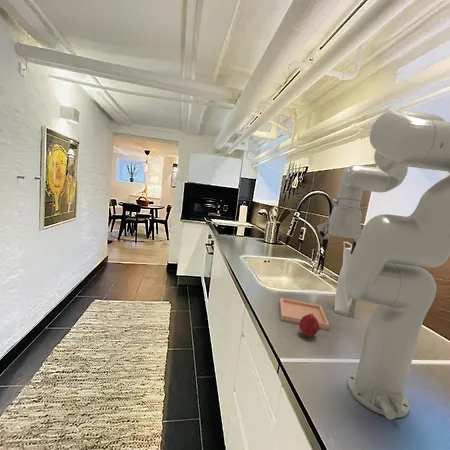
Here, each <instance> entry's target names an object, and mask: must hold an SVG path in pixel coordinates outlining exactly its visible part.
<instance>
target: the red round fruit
mask: <svg viewBox="0 0 450 450" xmlns="http://www.w3.org/2000/svg"><path fill="white" fill-rule="evenodd" d="M299 328H300V331H301V332H302V334H303V335H305V337H312V336H314V335H317V333H318V332H319V330H320V329H319V323H318V320H317V319H316V317H314V316H313V312H310V314H309V315H305V316H304V317H303V318H302V319H301V321H300V325H299Z"/></svg>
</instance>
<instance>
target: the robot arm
mask: <svg viewBox="0 0 450 450" xmlns="http://www.w3.org/2000/svg"><path fill="white" fill-rule="evenodd" d="M369 142H370V145H371V146H372V148H373V149H374V150H375V151H374V154H373V155H374V157H373V160H374V163H375V165H376V166H377V167H376V166H369V165H368V166H367V165H361V164H353V165H351V166H349V167H346V168H344V169H343V170H342V173H341V177H340V182H339V187H338V192H337V196H336V197H337V198H335V199H332V201H331V204H334V205H335V206H333V207H332V209H331V213H330V215H329V218H328V222H324V223H321V224H318V225H317V226H316V227H317V228H316V229H317V230H318V233H319V235H320V236H321V238H322V243H321V248H322V250H323V251H325V252H326V251H327V248H328V243H329V237H331V236H333V237H339V238H345V239H346V238H347V239H352V240H353V243H351V244H352V246H351V247H352V249H351V254H352V256H351V258H350V261H349V263H348V266H347V268H346V271H345V275H344V288H345V291H346V293H347V294H348V295H349V296H350V297H351V298H353V299H355V300H356V302H362V303H366V304H373V305H374V304H375V305H377V306H375V308H374V309H373V311H372V312H371V314H370V316H369V318H368V320H367V322H368V323H367V326H366V331H365V335H364V339H363V344H362V349H361V353H360V358H359V361H358V365H357V370H356V372H353V373H351V374H349V376H348V377H347V381H346V383H347V389H348V390H349V392H350V394H351V395H352V396H353V397H354V398H355V400H357V401H358V402H359V403H360V404H362V405H363V406H364V407H366V408H367V409H368V410H371V411H372V412H375V413H377V414H379V415H382V416H384V417H385V418H386V419H388V420H394V419H397V418H404V417H406V416H407V415H408V414H409V412H410V408H411V407H410V405H411V404H410V401H409V400H408V398H407V397H406V395H405V390H406V386H407V382H408V378H409V375H410V370H411V366H412V362H413V359H414V355H415V350H416V346H417V344H418V339H419V335H420V332H421V328H422V325H423V322H424V320H425V318H426V315H427V313H428V312H429V309H430V308H431V306H432V305H433V303H434V300H435V299H436V295H437V283H436V281H435V280H436V279H434V278H435V277H434V276H433V275H432V274H431V273H430V272H429V271H427V269H424V268H430V269H431V268H438V267H440V266H442V265H444V264H445V263H446V261H447V260H449V258H450V121H446V120H445V119H444V118H443V117H441V116H439V115H436V114H433V113H429V112H428V113H427V112H423V111H422V112H421V111H412V110H404V109H396V108H394V109H389V110H387V111H385V112H383V113H381V114H380V115H379V116H378V118H377V119H375V121H374V123H373V125H372V126H371V129H370V132H369ZM409 168H415V169H417V168H418V169H423V170H424V169H425V170H432V171H440V172H441V171H442V172H447V173H449V175H448V176H446V177H444V178H442V179H441V180H439V181H437V182H436V183H434V184H433V185H432V186H431V187H430V188H428V189H427V190H426V191H425V192H424V193H423V194H422V195H421V197H420V199H419V201H418V203H417V205H416V206H415V209H414V210H413V212H412V213H411V214H409V215H408V216H403V215H395V214H388V213H387V214H385V213H384V214H378V215H376V216H373V217H372V218H370V219H369V220H368V221H367V222H366V223H365V225H364V226H363V228H362V227H361V226H362V215H363V213H362V210H360V208H361V207H360V206H361V201H362V196H363V193H364V191H365V192H372V193H373V192H374V193H386V192H390V191H392V190H394V189H395V188H397V187H399V186H400V185H401V184H402V183H403V182H404V180H405V179H406V177H407V175H408V170H409ZM323 228H326V232H325V233H324V231H323ZM353 299H352V300H353Z"/></svg>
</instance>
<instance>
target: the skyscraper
mask: <svg viewBox="0 0 450 450" xmlns="http://www.w3.org/2000/svg"><path fill="white" fill-rule="evenodd" d="M345 244H347V245H349V246H350V247H345ZM352 244H353V243H350V242H348V241H343V252H342V253H343V254H342V266H341V268H340V271H339V275H338V278H337V282H336V288H335V297H334V298H335V301H334V305H333V309H334V313H335V314H338V315H341V316H346V317H349V318H352V319H353V318H355V309H356V303H357V300H355V299H353V298H351V297H350V296H349V295H348V294H347V293H346V291H345V288H344V275H345V271H346V268H347V266H348V263H349V261H350V258H351V256H352V254H351V249H352Z"/></svg>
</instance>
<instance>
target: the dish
mask: <svg viewBox="0 0 450 450" xmlns="http://www.w3.org/2000/svg"><path fill="white" fill-rule="evenodd" d="M279 311H280V312H279V313H280V321H281V322H286V323H291V324H296V325H299V326H300V321H301V319H302V318H303V317H304V316H305V315H309V314H310V312H313V316H314V317H316V319H317V320H318V323H319V330H324V331H327V332H329V331H330V328H331V327H330V326H331V325H330V322H329V320H328V317H327V316H326V315H327V314H325V311H324V308H323V307H322V305H319V304H315V303H310V302H309V303H308V302H305V301H299V300H293V299H288V298H283V297H280V299H279Z"/></svg>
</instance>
